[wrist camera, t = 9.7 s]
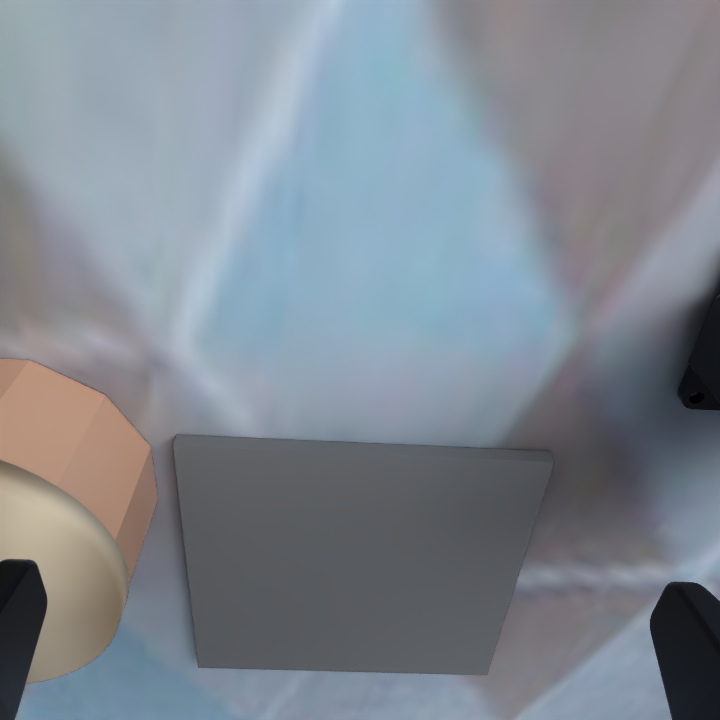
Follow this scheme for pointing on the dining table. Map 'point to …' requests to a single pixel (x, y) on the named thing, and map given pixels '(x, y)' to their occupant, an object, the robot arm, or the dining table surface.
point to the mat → (353, 551)
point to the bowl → (79, 449)
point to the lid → (63, 570)
